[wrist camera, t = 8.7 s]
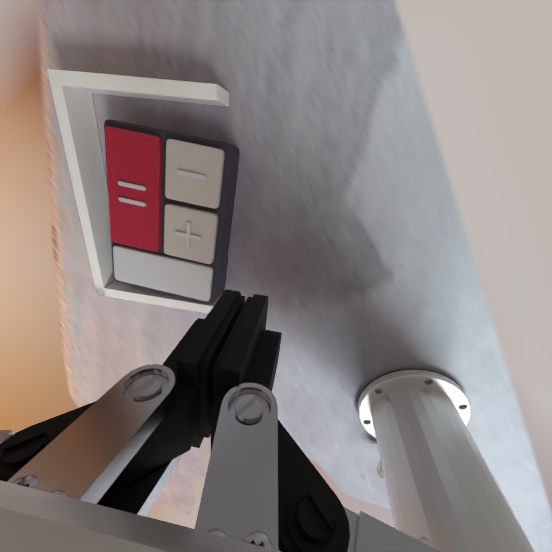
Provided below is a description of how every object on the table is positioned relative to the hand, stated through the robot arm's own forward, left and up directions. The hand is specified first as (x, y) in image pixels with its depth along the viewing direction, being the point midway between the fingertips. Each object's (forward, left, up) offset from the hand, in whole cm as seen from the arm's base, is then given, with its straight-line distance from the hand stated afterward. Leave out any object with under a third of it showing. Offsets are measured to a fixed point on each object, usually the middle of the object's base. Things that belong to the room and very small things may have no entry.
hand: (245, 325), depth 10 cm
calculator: (-1, +11, -18) cm, 21 cm away
